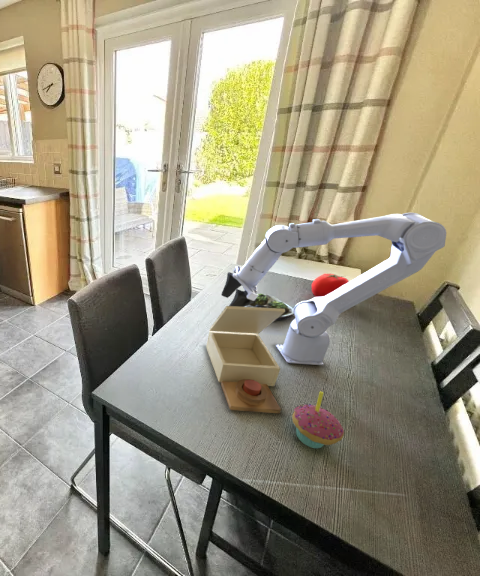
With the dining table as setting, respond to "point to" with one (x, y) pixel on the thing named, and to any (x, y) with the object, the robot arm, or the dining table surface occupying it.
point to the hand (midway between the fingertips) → (227, 303)
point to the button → (252, 387)
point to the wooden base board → (249, 398)
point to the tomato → (327, 284)
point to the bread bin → (241, 358)
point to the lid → (245, 319)
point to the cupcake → (316, 425)
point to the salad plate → (272, 305)
